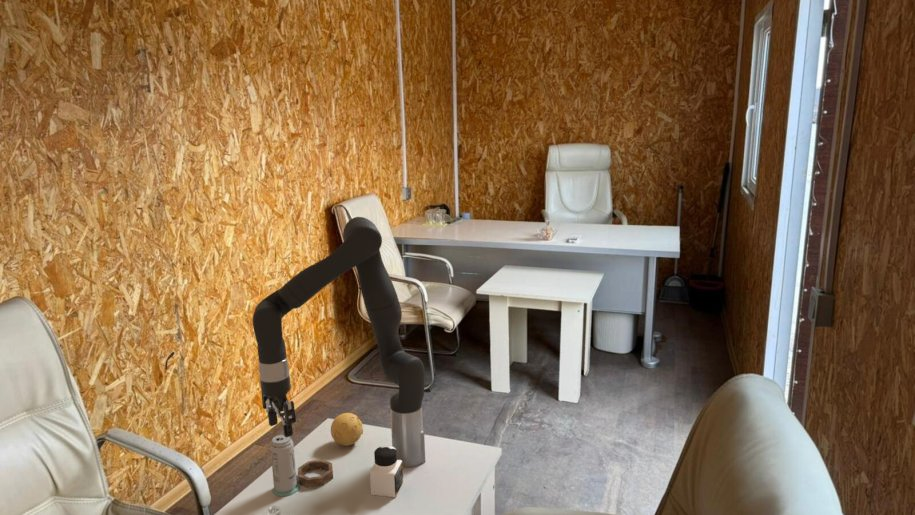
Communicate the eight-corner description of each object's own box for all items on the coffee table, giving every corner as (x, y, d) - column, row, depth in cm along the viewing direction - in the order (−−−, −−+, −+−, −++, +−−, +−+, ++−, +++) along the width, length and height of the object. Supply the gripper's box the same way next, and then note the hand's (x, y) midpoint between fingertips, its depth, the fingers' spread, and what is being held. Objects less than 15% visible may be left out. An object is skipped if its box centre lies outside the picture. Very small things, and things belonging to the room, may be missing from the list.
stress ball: (331, 443, 194) (321, 437, 185) (342, 413, 198) (333, 405, 189) (360, 451, 192) (351, 446, 183) (370, 421, 196) (362, 414, 187)
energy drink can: (296, 492, 166) (292, 442, 163) (273, 496, 165) (269, 445, 162) (296, 480, 172) (293, 431, 169) (274, 483, 171) (270, 434, 167)
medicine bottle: (395, 498, 164) (393, 457, 161) (370, 495, 165) (368, 455, 163) (403, 482, 171) (401, 443, 168) (379, 480, 172) (377, 441, 169)
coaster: (299, 479, 173) (299, 478, 173) (299, 494, 166) (299, 492, 166) (273, 483, 172) (273, 482, 171) (272, 498, 165) (272, 496, 165)
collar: (332, 465, 180) (331, 458, 179) (333, 484, 171) (333, 476, 170) (298, 470, 178) (297, 462, 177) (298, 489, 168) (297, 481, 168)
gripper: (300, 378, 159) (306, 434, 163) (275, 363, 169) (281, 416, 173) (274, 387, 154) (280, 445, 158) (249, 371, 164) (255, 426, 168)
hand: (280, 430), depth 165 cm, fingers open, 8 cm apart
